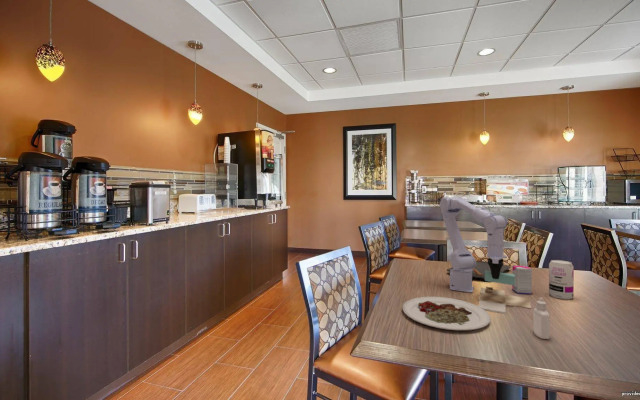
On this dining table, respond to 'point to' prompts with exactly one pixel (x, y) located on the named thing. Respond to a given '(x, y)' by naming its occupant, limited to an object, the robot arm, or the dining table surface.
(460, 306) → the plated food
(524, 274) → the supplement box
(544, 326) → the eye dropper bottle
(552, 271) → the supplement can
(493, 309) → the grey tile
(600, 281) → the dining table surface
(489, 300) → the board
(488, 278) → the teal bar
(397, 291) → the dining table surface
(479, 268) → the serving board
